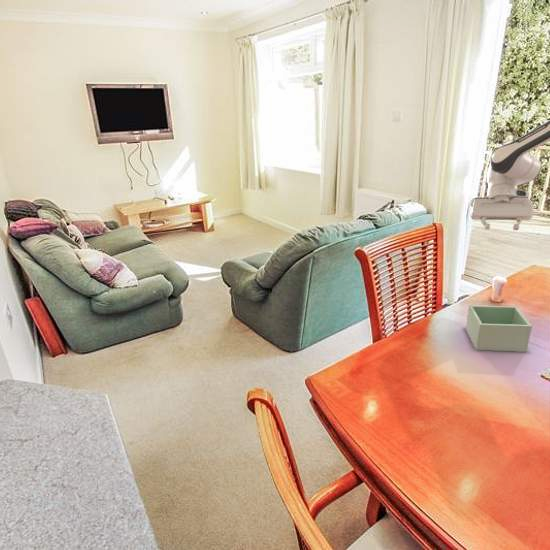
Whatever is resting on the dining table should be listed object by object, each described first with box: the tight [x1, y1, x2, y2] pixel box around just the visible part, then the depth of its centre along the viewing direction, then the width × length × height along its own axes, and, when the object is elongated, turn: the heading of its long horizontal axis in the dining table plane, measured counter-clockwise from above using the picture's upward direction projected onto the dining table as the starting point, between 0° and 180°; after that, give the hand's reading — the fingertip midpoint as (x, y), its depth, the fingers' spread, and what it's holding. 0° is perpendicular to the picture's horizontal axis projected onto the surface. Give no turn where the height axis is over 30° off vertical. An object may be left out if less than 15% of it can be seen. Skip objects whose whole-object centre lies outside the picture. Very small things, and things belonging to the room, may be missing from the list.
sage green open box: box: [465, 304, 533, 353], centre depth 114 cm, size 14×12×9 cm
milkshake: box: [490, 276, 512, 303], centre depth 135 cm, size 4×5×10 cm
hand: (501, 229), depth 138 cm, fingers open, 8 cm apart
